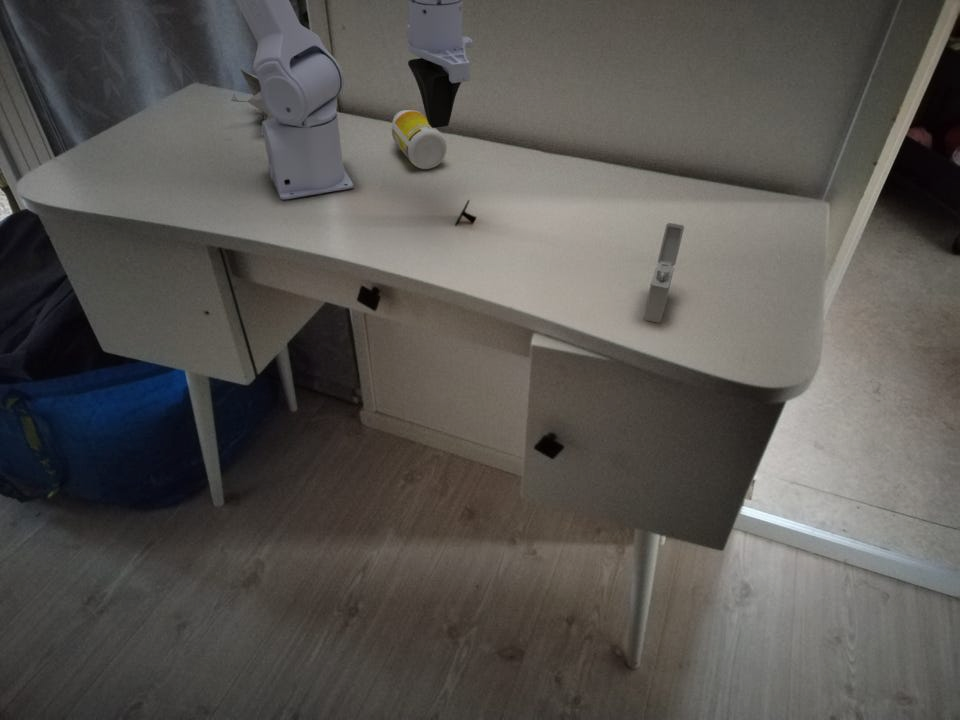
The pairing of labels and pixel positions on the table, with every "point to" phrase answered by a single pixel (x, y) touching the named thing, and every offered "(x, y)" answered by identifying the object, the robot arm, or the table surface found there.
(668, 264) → the lighter
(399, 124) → the supplement bottle
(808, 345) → the table surface
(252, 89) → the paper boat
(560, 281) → the table surface
